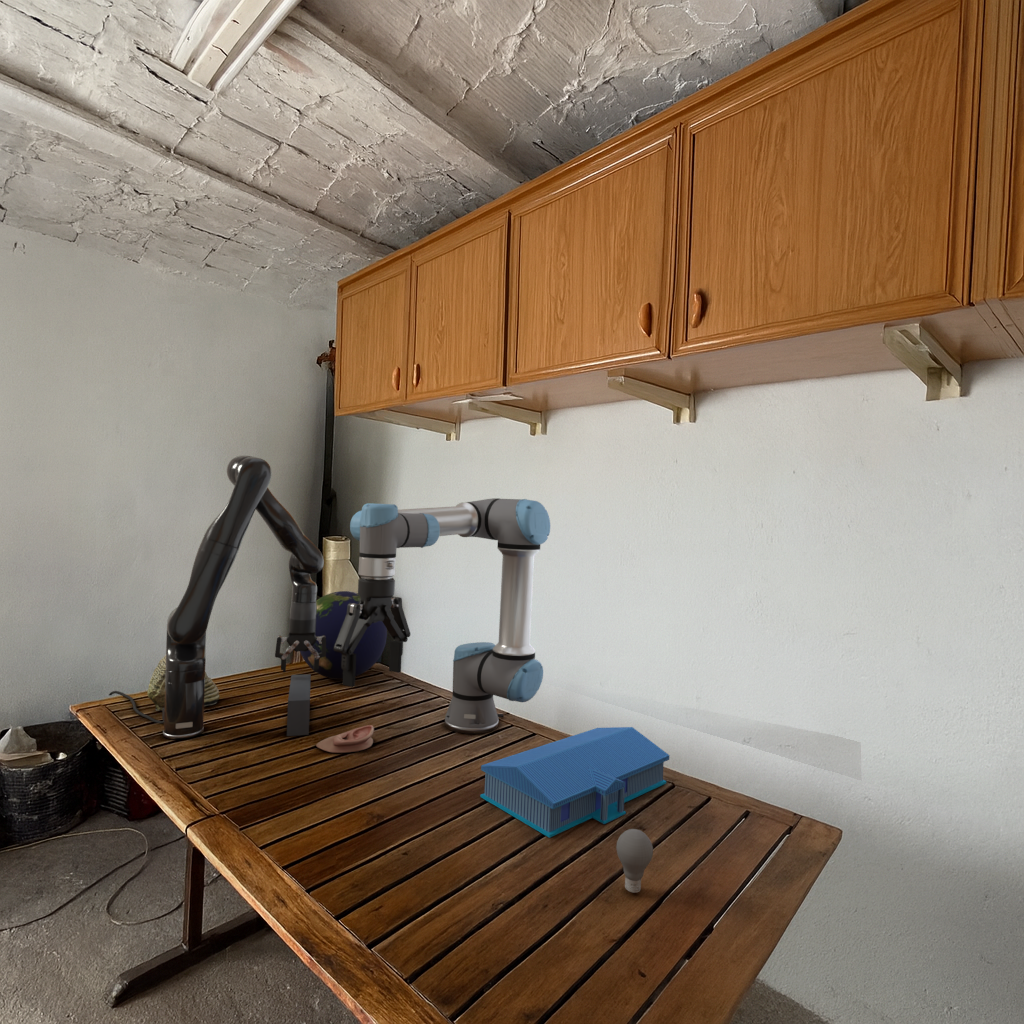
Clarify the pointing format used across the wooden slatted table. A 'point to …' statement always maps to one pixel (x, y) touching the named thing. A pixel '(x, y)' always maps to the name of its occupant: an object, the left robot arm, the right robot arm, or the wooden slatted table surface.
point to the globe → (330, 624)
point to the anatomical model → (348, 740)
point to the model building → (575, 778)
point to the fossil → (158, 687)
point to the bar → (299, 705)
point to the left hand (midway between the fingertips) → (299, 671)
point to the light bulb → (634, 857)
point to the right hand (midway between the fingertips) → (372, 678)
